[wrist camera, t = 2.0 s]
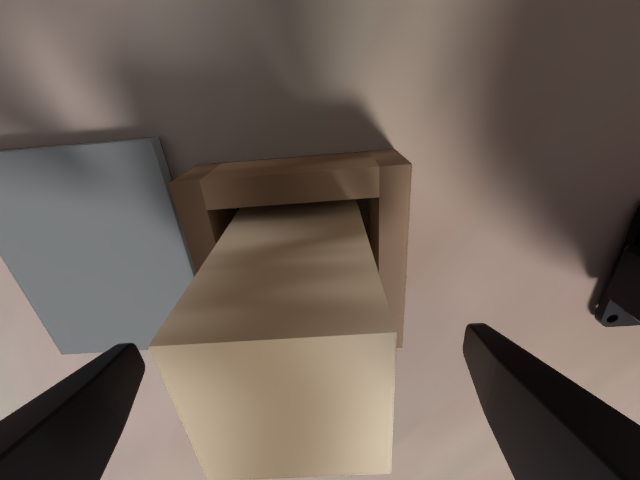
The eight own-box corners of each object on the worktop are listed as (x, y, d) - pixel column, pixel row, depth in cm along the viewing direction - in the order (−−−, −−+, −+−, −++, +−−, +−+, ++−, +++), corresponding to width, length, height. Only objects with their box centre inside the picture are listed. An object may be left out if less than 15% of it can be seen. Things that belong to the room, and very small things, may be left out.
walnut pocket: (394, 149, 12) (411, 164, 10) (390, 308, 15) (402, 347, 13) (196, 165, 12) (168, 183, 10) (236, 318, 16) (221, 357, 13)
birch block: (353, 192, 13) (396, 332, 5) (356, 283, 15) (390, 473, 7) (244, 200, 13) (147, 346, 6) (262, 289, 15) (207, 481, 8)
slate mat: (158, 137, 12) (151, 139, 11) (218, 337, 16) (215, 345, 16) (-44, 154, 12) (-61, 157, 11) (70, 345, 16) (61, 354, 16)
